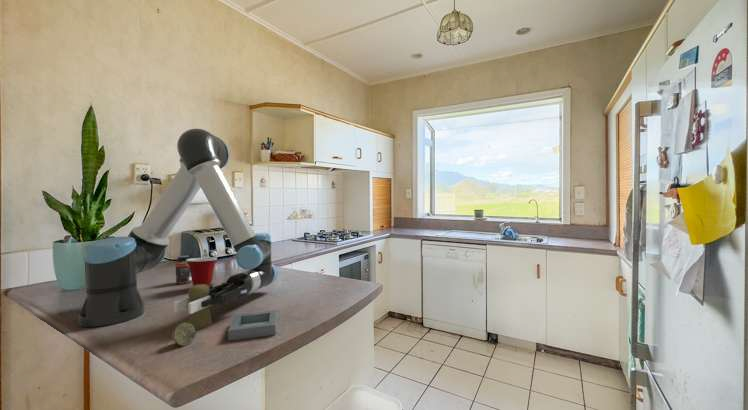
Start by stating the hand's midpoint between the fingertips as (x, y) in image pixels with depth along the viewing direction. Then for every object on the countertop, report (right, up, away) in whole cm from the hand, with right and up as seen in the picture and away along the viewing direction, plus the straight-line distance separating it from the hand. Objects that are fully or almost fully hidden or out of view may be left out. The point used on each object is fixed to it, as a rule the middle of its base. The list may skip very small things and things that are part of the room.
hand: (182, 307), depth 80 cm
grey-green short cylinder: (+4, -7, -6) cm, 10 cm away
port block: (+18, -6, +2) cm, 19 cm away
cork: (+2, -7, +5) cm, 9 cm away
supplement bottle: (-31, -7, +51) cm, 60 cm away
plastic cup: (-18, -6, +42) cm, 46 cm away
